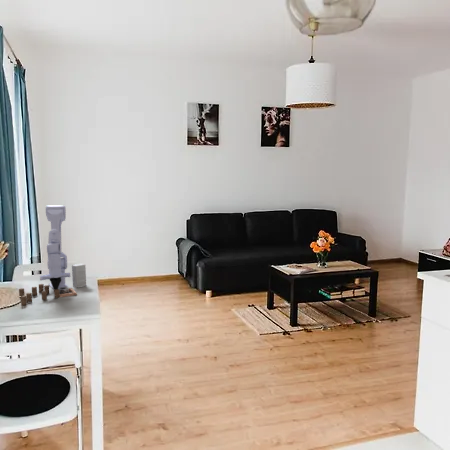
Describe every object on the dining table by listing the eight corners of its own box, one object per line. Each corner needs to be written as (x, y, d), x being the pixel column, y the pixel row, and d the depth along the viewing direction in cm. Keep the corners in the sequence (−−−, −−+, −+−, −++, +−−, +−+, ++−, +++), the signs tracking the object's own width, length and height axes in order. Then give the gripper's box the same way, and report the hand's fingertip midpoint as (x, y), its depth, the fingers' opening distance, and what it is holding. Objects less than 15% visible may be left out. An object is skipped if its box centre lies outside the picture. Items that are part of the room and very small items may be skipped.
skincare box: (82, 284, 262) (81, 263, 261) (86, 285, 259) (85, 264, 258) (72, 286, 258) (71, 264, 257) (76, 288, 255) (75, 266, 254)
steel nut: (56, 293, 245) (56, 287, 245) (67, 291, 248) (66, 286, 247) (59, 296, 240) (58, 290, 240) (69, 294, 243) (69, 289, 242)
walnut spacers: (15, 294, 242) (15, 287, 241) (53, 289, 251) (53, 282, 251) (21, 305, 224) (21, 297, 224) (61, 300, 234) (61, 292, 233)
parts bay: (54, 292, 247) (54, 290, 247) (71, 290, 251) (71, 287, 251) (59, 297, 238) (59, 295, 238) (76, 295, 242) (76, 292, 242)
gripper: (41, 269, 233) (42, 296, 235) (71, 266, 240) (72, 292, 242) (38, 266, 239) (39, 292, 241) (68, 263, 246) (69, 288, 248)
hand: (55, 292), depth 242 cm, fingers closed
